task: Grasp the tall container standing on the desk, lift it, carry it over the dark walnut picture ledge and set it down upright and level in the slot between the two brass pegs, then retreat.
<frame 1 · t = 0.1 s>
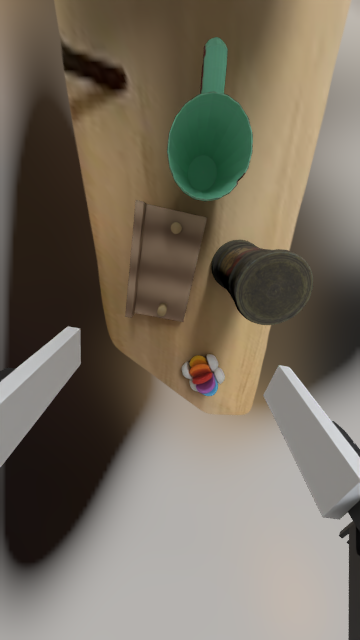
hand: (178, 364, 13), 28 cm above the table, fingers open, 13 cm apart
mug: (203, 155, 31), on the table
rainbow striped lobed toy: (202, 366, 48), on the table
container: (234, 264, 37), on the table
ledge: (165, 266, 38), on the table
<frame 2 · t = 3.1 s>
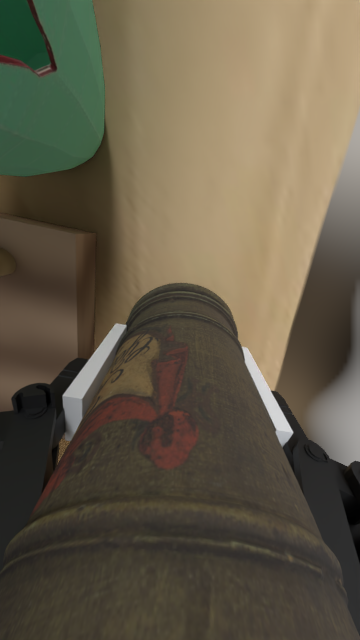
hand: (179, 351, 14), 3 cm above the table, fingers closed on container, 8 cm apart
mug: (55, 56, 11), on the table
container: (179, 329, 17), on the table, touching gripper
ledge: (32, 332, 18), on the table
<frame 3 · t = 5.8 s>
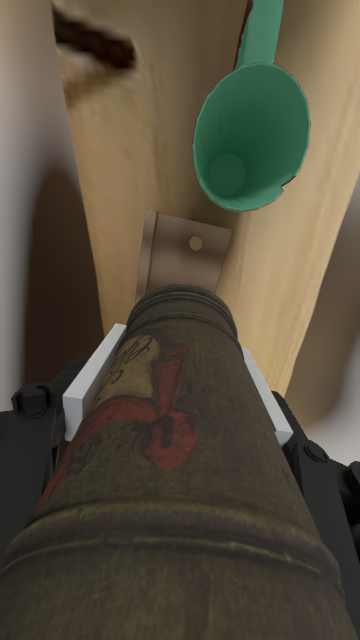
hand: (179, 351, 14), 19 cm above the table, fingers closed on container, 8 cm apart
mug: (228, 153, 25), on the table
container: (179, 330, 17), point 16 cm above the table, touching gripper
ledge: (177, 285, 32), on the table
when the fingers open (8 cm above the table, at t = 8.4 s): container drops 2 cm, resting on ledge.
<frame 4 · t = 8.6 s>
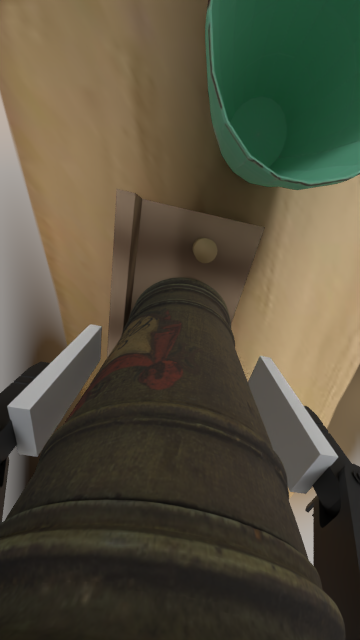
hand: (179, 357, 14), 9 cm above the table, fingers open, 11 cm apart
mug: (259, 99, 15), on the table
container: (179, 321, 19), point 3 cm above the table, touching ledge
ledge: (175, 309, 22), on the table
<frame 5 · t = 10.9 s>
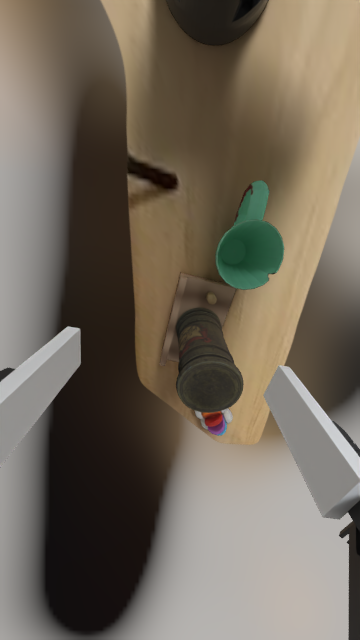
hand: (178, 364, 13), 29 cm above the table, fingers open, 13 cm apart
mug: (234, 238, 37), on the table
rainbow striped lobed toy: (212, 406, 54), on the table
container: (197, 326, 41), point 3 cm above the table, touching ledge
ledge: (194, 320, 43), on the table
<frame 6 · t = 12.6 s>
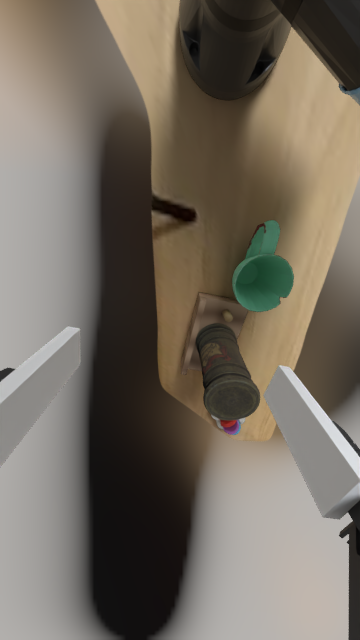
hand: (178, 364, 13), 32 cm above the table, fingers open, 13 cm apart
mug: (247, 261, 41), on the table
rainbow striped lobed toy: (226, 408, 59), on the table
container: (215, 339, 45), point 3 cm above the table, touching ledge
ledge: (211, 333, 48), on the table
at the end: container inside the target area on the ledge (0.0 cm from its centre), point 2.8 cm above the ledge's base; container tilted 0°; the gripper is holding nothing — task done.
